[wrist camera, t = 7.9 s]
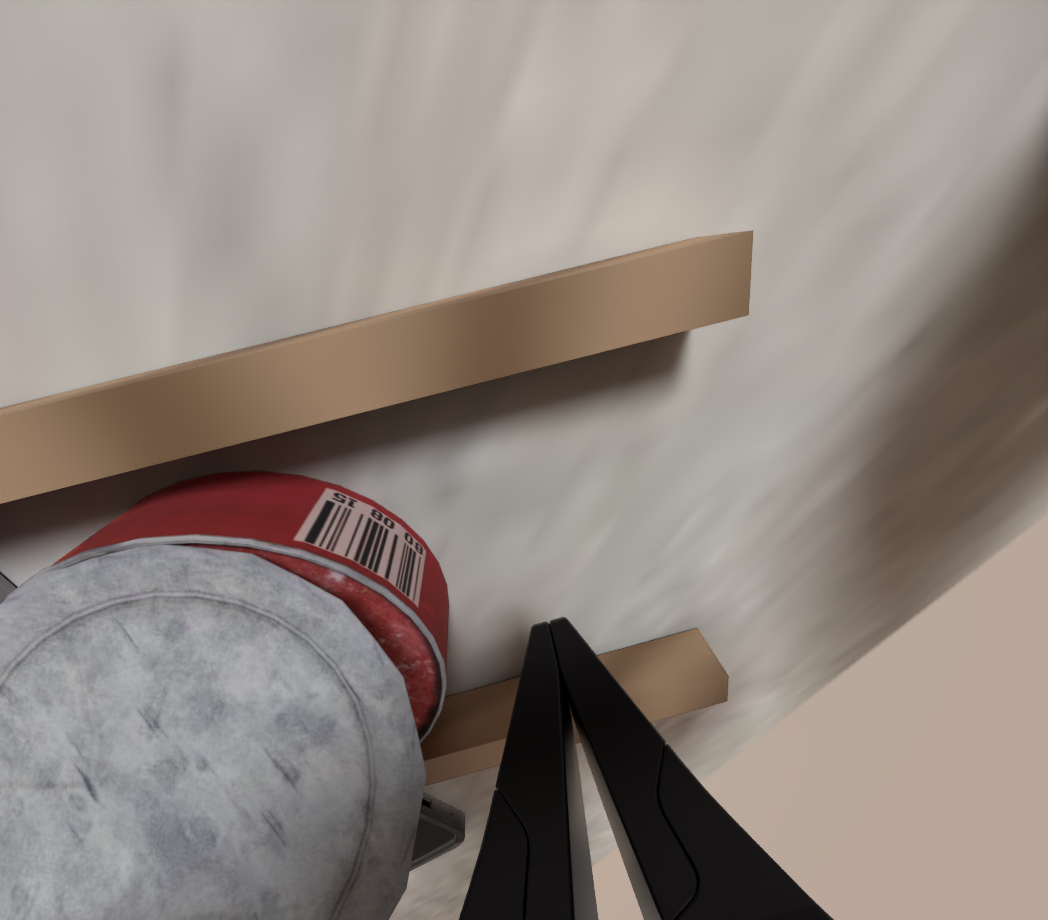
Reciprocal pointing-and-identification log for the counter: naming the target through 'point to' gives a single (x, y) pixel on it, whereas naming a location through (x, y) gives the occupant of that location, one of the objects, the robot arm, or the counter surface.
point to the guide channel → (394, 377)
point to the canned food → (221, 709)
